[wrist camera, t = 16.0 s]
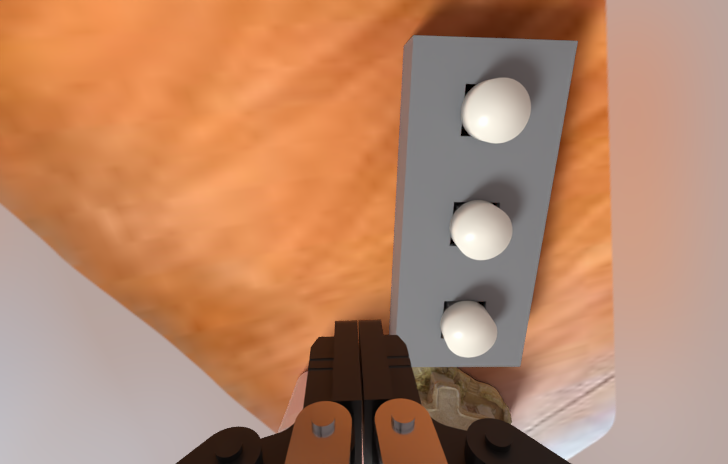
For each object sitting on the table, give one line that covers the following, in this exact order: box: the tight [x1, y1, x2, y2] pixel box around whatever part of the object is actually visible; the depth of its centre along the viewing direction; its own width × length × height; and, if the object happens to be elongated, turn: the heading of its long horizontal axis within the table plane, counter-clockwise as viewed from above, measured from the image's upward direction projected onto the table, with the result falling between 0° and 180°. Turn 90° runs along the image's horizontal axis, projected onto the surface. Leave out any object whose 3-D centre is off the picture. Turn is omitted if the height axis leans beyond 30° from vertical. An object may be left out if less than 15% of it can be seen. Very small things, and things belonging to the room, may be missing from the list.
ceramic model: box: [412, 367, 512, 431], centre depth 39 cm, size 14×11×10 cm
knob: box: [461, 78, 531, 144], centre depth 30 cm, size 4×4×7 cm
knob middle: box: [449, 200, 513, 260], centre depth 33 cm, size 4×4×7 cm
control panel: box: [389, 35, 578, 367], centre depth 34 cm, size 28×12×5 cm, turn 179°
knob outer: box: [440, 301, 497, 358], centre depth 36 cm, size 4×4×7 cm
